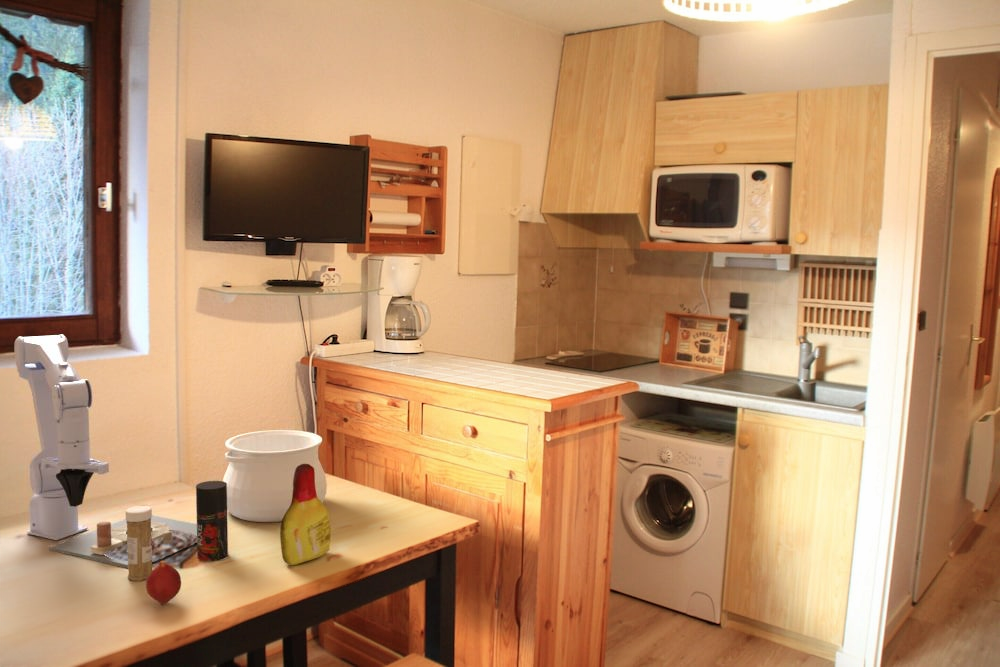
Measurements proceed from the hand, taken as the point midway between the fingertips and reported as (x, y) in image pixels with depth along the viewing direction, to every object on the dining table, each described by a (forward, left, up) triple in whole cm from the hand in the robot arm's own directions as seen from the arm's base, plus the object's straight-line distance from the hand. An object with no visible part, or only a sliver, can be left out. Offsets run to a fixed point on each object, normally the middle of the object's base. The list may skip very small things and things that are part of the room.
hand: (76, 505), depth 171 cm
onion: (+34, -11, -10) cm, 37 cm away
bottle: (+44, +17, -10) cm, 48 cm away
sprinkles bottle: (+21, -4, -10) cm, 24 cm away
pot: (+18, +40, -10) cm, 45 cm away
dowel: (+15, +10, -10) cm, 20 cm away
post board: (+6, +10, -10) cm, 16 cm away
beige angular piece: (+6, +8, -9) cm, 13 cm away
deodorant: (+26, +10, -10) cm, 30 cm away
